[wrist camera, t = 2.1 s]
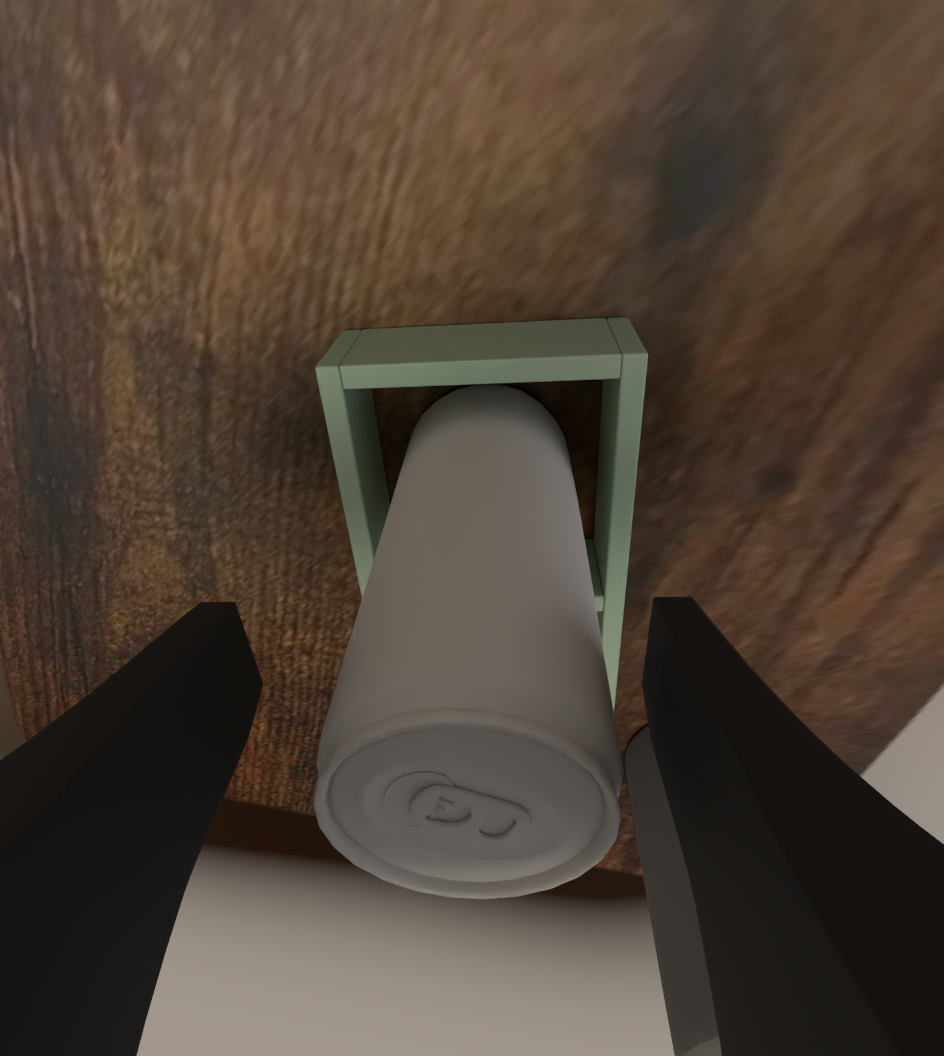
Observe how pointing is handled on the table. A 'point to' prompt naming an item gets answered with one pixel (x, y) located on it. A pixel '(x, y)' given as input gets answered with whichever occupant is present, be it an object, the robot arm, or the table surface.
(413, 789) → the beverage can
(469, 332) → the divided storage tray
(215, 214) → the table surface
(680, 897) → the bottle
